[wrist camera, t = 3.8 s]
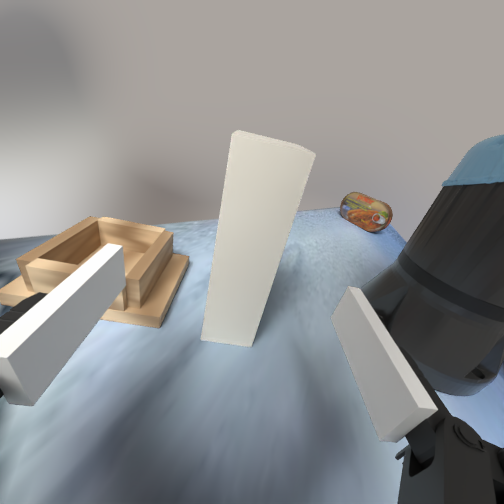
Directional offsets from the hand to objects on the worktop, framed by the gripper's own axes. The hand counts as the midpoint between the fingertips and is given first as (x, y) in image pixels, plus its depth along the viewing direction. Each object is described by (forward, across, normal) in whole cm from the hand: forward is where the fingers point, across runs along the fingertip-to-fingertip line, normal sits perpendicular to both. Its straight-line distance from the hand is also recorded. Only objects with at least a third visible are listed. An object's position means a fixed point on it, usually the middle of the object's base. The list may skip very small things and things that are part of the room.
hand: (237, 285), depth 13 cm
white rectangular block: (+7, +1, -10) cm, 12 cm away
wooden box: (+10, -13, -10) cm, 19 cm away
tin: (+50, +35, -11) cm, 62 cm away
